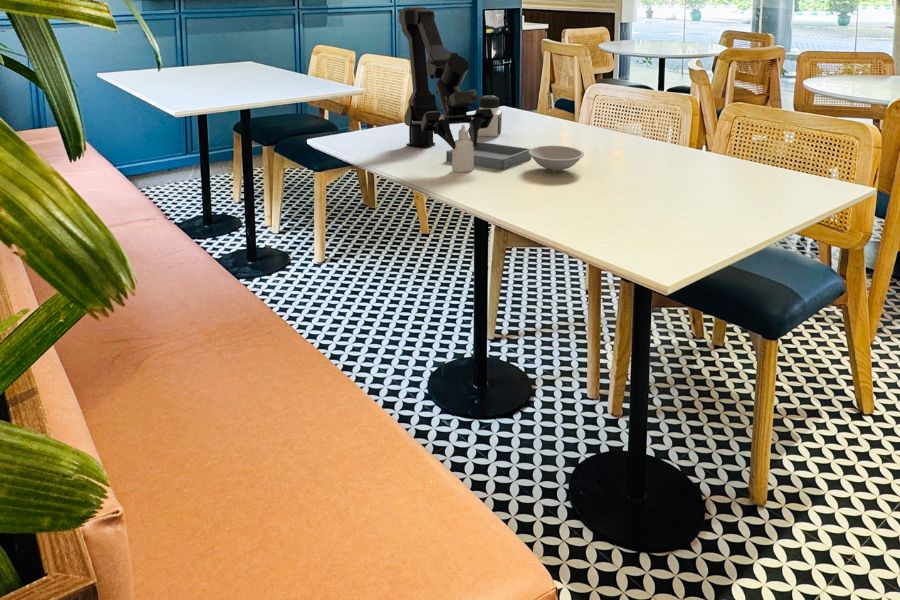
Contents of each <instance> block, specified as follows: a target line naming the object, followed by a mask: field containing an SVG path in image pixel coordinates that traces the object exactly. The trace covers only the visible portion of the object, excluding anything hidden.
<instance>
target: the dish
mask: <svg viewBox="0 0 900 600" xmlns="http://www.w3.org/2000/svg"><path fill="white" fill-rule="evenodd" d="M529 149H530V150H529V154H530V155H531V156H532V158H531V159H533V160H534V161H535V162H536V164H537V165H539V166H540V167H541V168H544V169H547V170H551V172H554V173H555V172H557V173H558V172H559V171H563V170H567V169H570V168H572V167H573V166H575V165H576V164H577V163H578V162H579V161H580V159H582V158H583V157H584V156H585V153H584V151H582V150H580V149H579V148H576V147H570V146H564V145H540V146H535V147H533V148H529Z"/></svg>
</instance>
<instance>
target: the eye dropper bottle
mask: <svg viewBox="0 0 900 600" xmlns="http://www.w3.org/2000/svg"><path fill="white" fill-rule="evenodd" d="M454 141H455V146H456V147H455V149H453V148H452V147H451V150H452V162H451V167H452V168H451V170H452V171H453V172H455V173H456V174H457V173H460V174H462V173H469V172H472V171H474V143H473V141H471V139H469V132H468V129H466V126H465V124H462V125H461V128H460V129H459V130H458V139H456V140H454Z"/></svg>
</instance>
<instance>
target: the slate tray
mask: <svg viewBox="0 0 900 600" xmlns="http://www.w3.org/2000/svg"><path fill="white" fill-rule="evenodd" d="M530 149H531V148H527V147H519V146H513V145H505V144H498V143H492V142H491V143H490V142H483V141H477V146H476V147H474V166H475V167H481V168H487V169H494V170H501V171H504V170H507V169H509V168H512V167H514V166H516V165H519V164H522V163H524V162H527V161H529V160H532V159H533V158H532V156H531V155H530V154H529V150H530ZM445 157H446V158H445V159H446V160H445V162H448V163H452V149H449V150H446V155H445Z"/></svg>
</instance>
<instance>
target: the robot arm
mask: <svg viewBox="0 0 900 600" xmlns="http://www.w3.org/2000/svg"><path fill="white" fill-rule="evenodd" d="M398 21H399V24H400V26H401V31H402V34H404V36H405V37H406V39H407V41H408V51H409V60H410V61H409V62H410V75H411V83H412V85H411V86H412V92H411V94H410V96H409V98H408V100H407V101H408V102H407V103H408V104H407V105H408V106H407V108H406V111H405V114H404V117H403V119H404V125H406V126H407V127H408V130H409V131H408V134H409V135H408V136H409V137H408V138H409V139H408V140H409V141H408V143H406V144H405V145H406V146H407V147H412V148H421V149H425V148H429V147H431V146H435V145H436V142H434V135H437V136H439V137H440V138H441V139H442V140H444V141H445V142H446V143H447V144H448V145H449V146H450V147H451V149H452V148H453V149H455V147H456V146H455V141H456V140H455V139H454V136H453V133H452V130H451V127H450V125H457V124H468V125H469V128H468V129H467V131H468V136H469V137H470V140H471V141H473V143H474V147H476V146H477V142H478V137H479V136H478V130H479V129H482V128H487V127H488V126H489V124H490V122H491V120H492V118H493V116H494V115H493V112H492V110H491V109H490V108H482V109H480V108H477V109H476V110H475V113H474V114H468V113H467V112H470V106H471V105H473V104H474V103H477V102H478V101H479V96H478V95H479V94H478V91H477V90H476V89H475V88H471V89H469V90H467V91H466V90H464V91H460V85H462V84H463V82H464V79H465V78H466V77H465V76H466V74H467V73H468V70H469V67H470V65H469V62H468V60H467V59H465V58H464V57H463V56H460V55H459V53H458V52H452V51H451V52H450V50H448V49H447V48H445V46H444V43H443V41H442V37H441V35H440V31H439V29H438V27H437V23H436V21H435V12H434V11H433V10H431V9H426V7H425V6H410V7H409V6H407V7H405V6H404V7H403V8H402V11H399V13H398ZM428 77H429V78H430V79H431V80H437V81H436V84H435V86H436V89H435V94H437V95H438V98H439V101H440V104H441V106H440V111H439V107H438V104H437V97H436V95H435V94H434V93H432V92H431V90H430V89H429V87H430V86H429V78H428ZM441 111H443V113H442V114H441Z"/></svg>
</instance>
